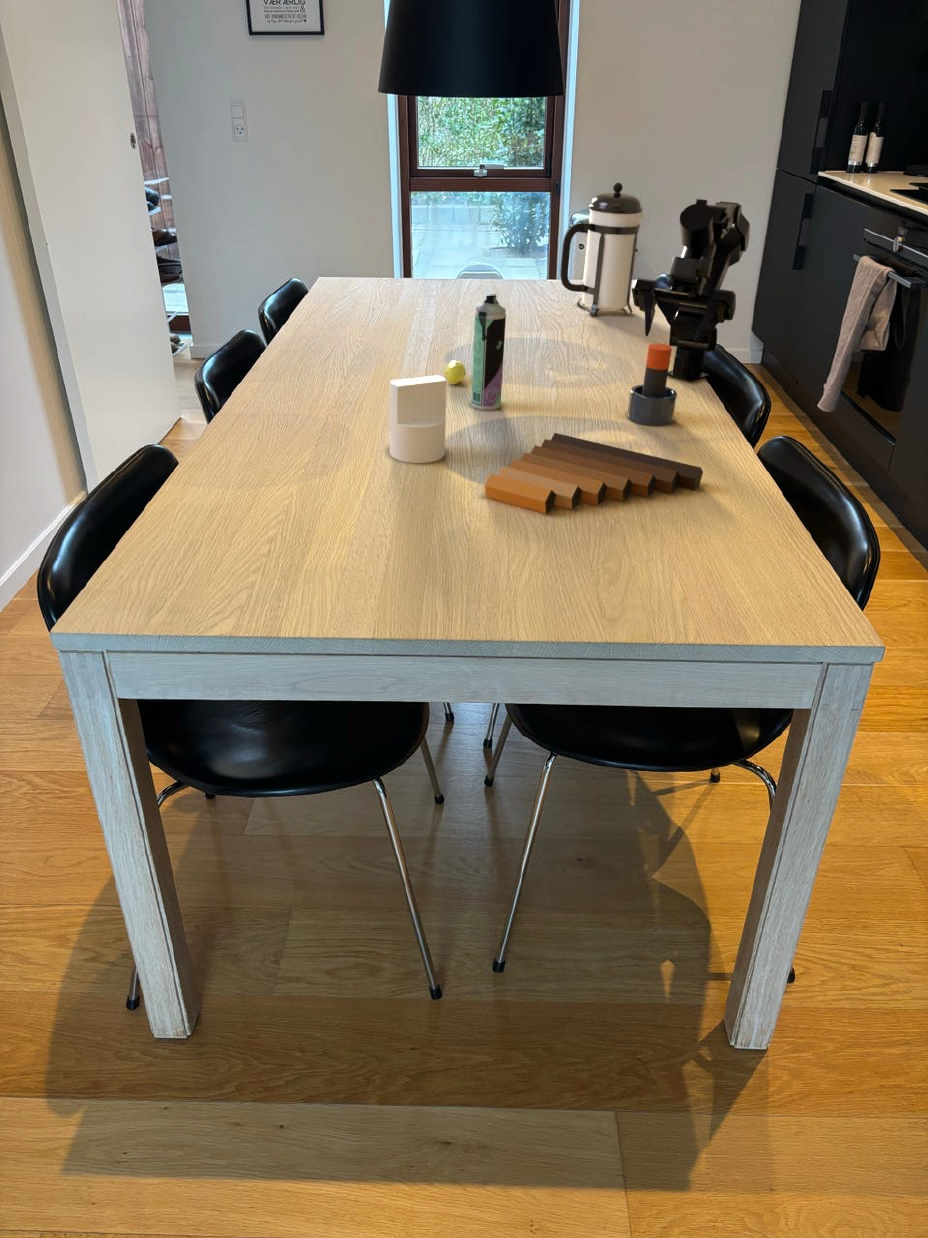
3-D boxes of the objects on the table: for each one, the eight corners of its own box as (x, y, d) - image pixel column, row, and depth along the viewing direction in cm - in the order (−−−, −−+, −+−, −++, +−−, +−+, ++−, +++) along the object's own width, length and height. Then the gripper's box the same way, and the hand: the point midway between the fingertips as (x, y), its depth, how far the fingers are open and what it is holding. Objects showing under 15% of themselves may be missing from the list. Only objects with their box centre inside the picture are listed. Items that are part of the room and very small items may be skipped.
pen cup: (644, 407, 182) (648, 381, 179) (681, 419, 177) (685, 392, 174) (618, 416, 177) (621, 390, 174) (655, 429, 172) (659, 401, 169)
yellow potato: (441, 386, 188) (442, 366, 186) (447, 374, 195) (448, 354, 193) (462, 387, 187) (463, 368, 185) (468, 375, 194) (469, 356, 192)
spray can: (497, 411, 176) (504, 299, 166) (468, 408, 177) (473, 296, 167) (502, 402, 181) (509, 292, 171) (474, 399, 182) (479, 289, 172)
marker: (638, 410, 178) (647, 342, 172) (660, 411, 178) (670, 344, 172) (640, 417, 175) (649, 349, 168) (662, 419, 175) (673, 350, 168)
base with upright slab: (403, 466, 152) (403, 392, 146) (380, 446, 159) (380, 375, 153) (454, 458, 156) (456, 385, 150) (429, 439, 163) (431, 369, 157)
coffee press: (589, 300, 255) (602, 176, 240) (643, 310, 247) (660, 183, 232) (555, 311, 243) (566, 181, 227) (611, 323, 235) (626, 189, 220)
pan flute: (700, 484, 151) (557, 448, 162) (704, 463, 149) (559, 429, 160) (641, 542, 132) (483, 498, 143) (644, 520, 131) (484, 477, 141)
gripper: (641, 231, 175) (616, 306, 172) (745, 244, 169) (721, 322, 166) (646, 269, 185) (623, 340, 183) (744, 282, 179) (721, 355, 176)
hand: (670, 338), depth 177 cm, fingers open, 9 cm apart
